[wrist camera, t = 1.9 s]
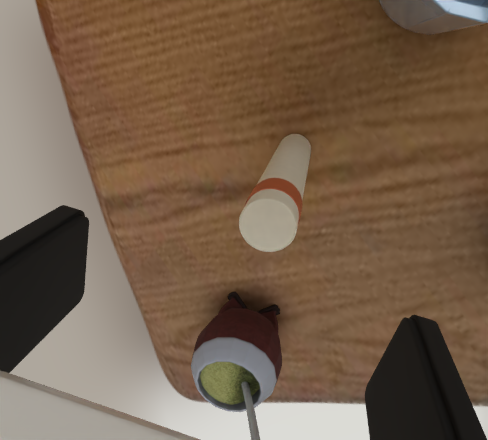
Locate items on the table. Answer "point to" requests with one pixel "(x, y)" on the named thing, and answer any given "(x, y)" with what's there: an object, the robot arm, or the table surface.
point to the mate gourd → (238, 358)
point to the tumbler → (436, 14)
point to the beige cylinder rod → (277, 197)
